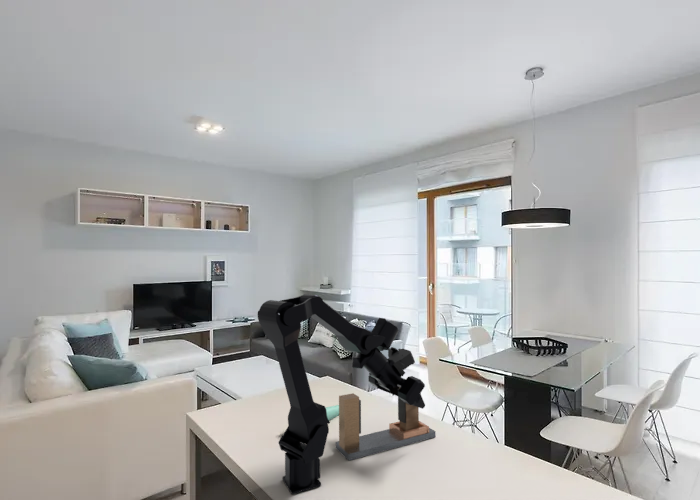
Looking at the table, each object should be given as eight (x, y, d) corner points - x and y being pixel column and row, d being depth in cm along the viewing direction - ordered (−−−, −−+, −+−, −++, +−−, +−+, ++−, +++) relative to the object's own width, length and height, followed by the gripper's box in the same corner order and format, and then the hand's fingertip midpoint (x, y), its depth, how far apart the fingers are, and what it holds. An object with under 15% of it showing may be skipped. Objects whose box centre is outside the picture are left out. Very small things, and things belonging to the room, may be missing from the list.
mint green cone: (362, 390, 125) (305, 416, 104) (362, 407, 125) (305, 437, 104) (348, 387, 129) (291, 412, 107) (348, 403, 128) (291, 432, 107)
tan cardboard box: (404, 435, 101) (404, 388, 101) (397, 430, 103) (397, 385, 104) (418, 431, 103) (418, 385, 103) (411, 427, 105) (411, 382, 106)
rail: (348, 460, 91) (348, 402, 91) (335, 448, 97) (335, 393, 97) (435, 437, 103) (434, 385, 103) (419, 427, 109) (418, 378, 109)
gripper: (418, 347, 94) (453, 386, 99) (377, 334, 110) (409, 368, 115) (391, 384, 90) (429, 423, 95) (353, 366, 106) (387, 400, 111)
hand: (413, 401), depth 104 cm, fingers open, 9 cm apart
